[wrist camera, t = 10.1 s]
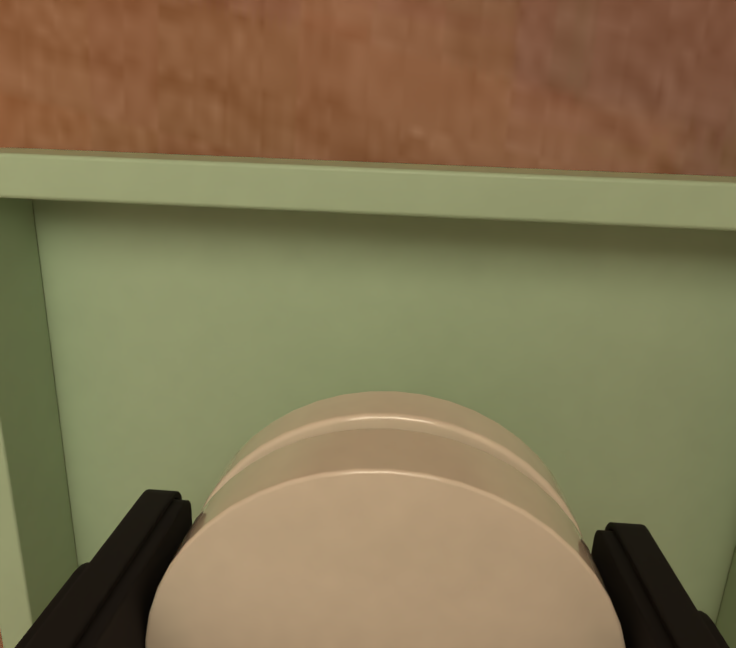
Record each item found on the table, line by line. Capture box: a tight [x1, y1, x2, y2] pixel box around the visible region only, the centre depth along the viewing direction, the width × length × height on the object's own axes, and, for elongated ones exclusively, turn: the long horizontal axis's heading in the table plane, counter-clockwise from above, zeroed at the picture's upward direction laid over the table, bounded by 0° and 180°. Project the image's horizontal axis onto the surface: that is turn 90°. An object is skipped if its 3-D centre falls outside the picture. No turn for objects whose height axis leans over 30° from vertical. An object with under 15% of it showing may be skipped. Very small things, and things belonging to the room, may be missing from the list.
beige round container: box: [145, 391, 626, 648], centre depth 10 cm, size 7×7×3 cm
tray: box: [0, 148, 736, 648], centre depth 13 cm, size 18×14×3 cm
